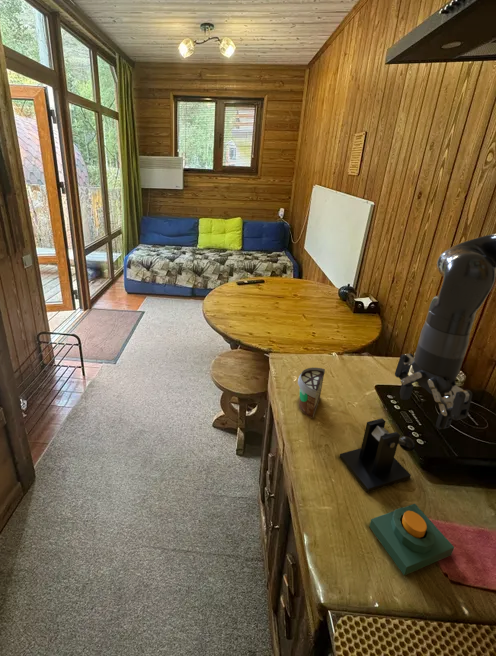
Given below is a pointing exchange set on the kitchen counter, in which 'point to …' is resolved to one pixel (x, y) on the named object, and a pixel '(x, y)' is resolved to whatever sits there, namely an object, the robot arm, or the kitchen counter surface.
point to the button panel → (410, 540)
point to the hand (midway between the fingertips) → (421, 412)
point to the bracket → (376, 460)
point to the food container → (310, 389)
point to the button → (414, 524)
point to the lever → (404, 441)
